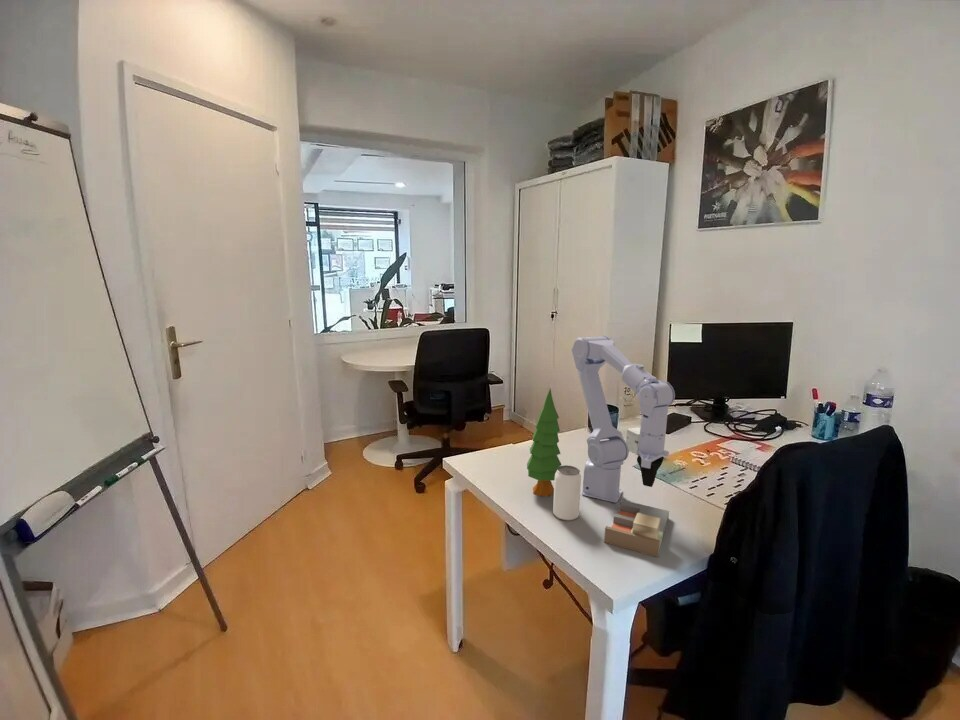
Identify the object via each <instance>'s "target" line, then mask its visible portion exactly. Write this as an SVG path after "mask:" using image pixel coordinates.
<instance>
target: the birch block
mask: <svg viewBox="0 0 960 720" xmlns="http://www.w3.org/2000/svg"><path fill="white" fill-rule="evenodd" d="M659 528H660V518H657V517H653V516H649V515H645V514H641V513H637V515H636V517H635V520H634V522H633V532H632V533H634V534H638V535H642V536H646V537H649V538H653V539H658V536H659Z"/></svg>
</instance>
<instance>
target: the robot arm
mask: <svg viewBox="0 0 960 720" xmlns="http://www.w3.org/2000/svg"><path fill="white" fill-rule="evenodd" d="M572 345H573V346H572V347H571V352H572V356H573V361H574V364H575V365H574V366H575V368H576V369H577V374H578V377H579V381H580V385H581V389H582V394H583V397H584V399H585V404H586V407H587V408H586V409H587V412H588V415H589V419H590V420H589V421H590V422H591V423H590V424H591V427H592V432H591V433H590V434H589V436H588V437H587V439H586V442H587V455H588V459H587V460H586V463H585V464H584V469H583V479H582V492H581V495H583V496H585V497H591V498H593V499H594V498H595V499H598V500H603V501H607V502H610V503H618V501H619V499H620V497H621V495H622V494H623V491H624V490H623V489H622V488H620V483H621V472H622V465H624V461H626V460H627V459H628V457H629V454H630V451H629V449H628V445H627V443H626V439H624V437H623V433H622V432H621V431H620V430H618V429H617V428H615V427H614V425H613V423H612V418H611V416H610V412H609V408H608V404H607V401H606V396H605V394H604V390H603V386H602V382H601V378H600V375H599V371H600V369H601V368H602V367H604V366H605V364H606V363H607V364H609V365H610V366H611V367H613V368H614V370H616V371H618V372H619V373H620V374H621V381H623V382H624V383H625V384H626V386H628V388H630V389H631V390H632V391H633V392H634V393H635V394H636V395H637V401H638V402H639V403H638V404H639V411H640V414H641V418H640V427H641V428H640V439H639V447H638V453H639V454H638V455H637V457H636V462H637V465H638V466H639V468H640V472H641V480H642V481H641V482H642V485H643V486H645V487H649V488H652V487H653V486H654V483H655V480H656V477H657V473H658V470H659V469H660V468H661V465H662V464H663V462H664V459H665V457H669V456H670V451H669V450H665V442H666V432H667V424H668V423H667V422H668V413H669V406H671V405H672V404H673V403H674V402H675V397H676V393H675V392H676V391H675V390H674V387H673V386H672V385H671V383H670V382H668V381H665V380H659V379H657V377H656V376H654V375H653V374H651V373H650V372H649V371H648V370H646V368H645V366H644V365H643V364H642V363H640V364H639V363H631V361H630V360H628V358H627V357H626V356H625V355H624V354H623V353H622V352H621V350H619V349H618V348H617V347H616V343H615V341H614V340H612V339H611V337H609V336H608V335H602V336H588V337H586V336H585V337H583V336H579V337H577V338H576V339H575V340H574V342H573V344H572Z"/></svg>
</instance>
